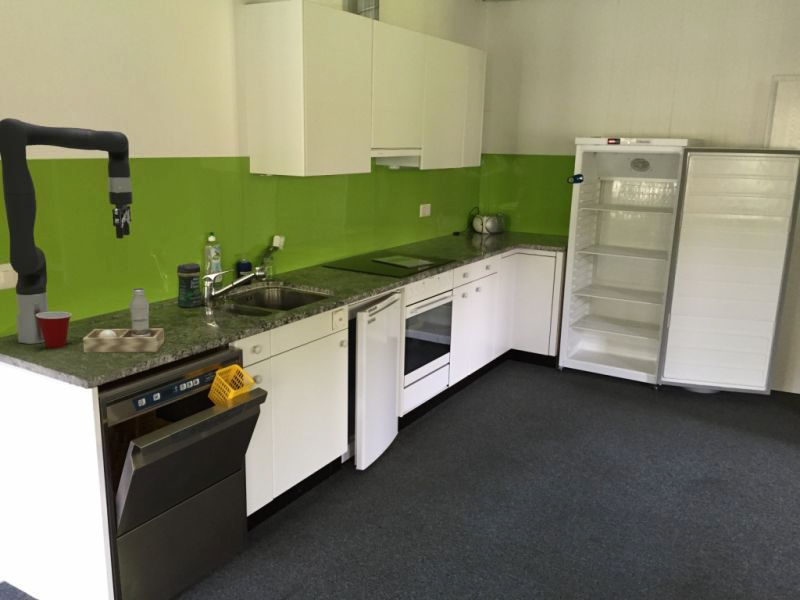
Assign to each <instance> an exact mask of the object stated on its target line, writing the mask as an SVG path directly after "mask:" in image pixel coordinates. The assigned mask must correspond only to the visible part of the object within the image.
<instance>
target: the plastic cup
mask: <svg viewBox="0 0 800 600" xmlns="http://www.w3.org/2000/svg"><path fill="white" fill-rule="evenodd" d="M72 315H73V313H71V312H67V311H48V312H43V313H38V314H36V317H37V318H38V321H39V324H40V327H41V331H42V334H43V338H44V340H45V342H44V344H45V347H46V348H49V349H58V348H62V347H65V346H66V345H67V341H68V340H67V339H68V331H69V323H70V319H71V317H72Z"/></svg>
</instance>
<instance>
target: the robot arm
mask: <svg viewBox="0 0 800 600" xmlns="http://www.w3.org/2000/svg"><path fill="white" fill-rule="evenodd" d="M27 146H28V147H29V146H30V147H31V146H50V147H58V148H64V149H71V150H82V151H99V152H107V154H108V156H107V157H108V162H107V173H108V176H107V177H108V179H107V180H108V183H107V186H108V187H107V189H108V201H109V204H110V205H115V207H114V208H112V210H111V211H112V225H113V227H114V228H115V235H116V239H121V240H122V239H123V238H124V236H130V235H131V233H130V232H131V231H130V230H131V229H130V228H131V227H130V225H131V223H132V215H131V213H132V211H131V206H130V205H133V189H132V179H131V169H130V162H129V160H130V159H129V158H130V157H129V156H130V147H129V146H130V145H129V139H128V137H127V136H126V134H124V133H123V132H121V131H112V130H111V131H110V130H94V129H91V128H80V127H67V126H65V127H64V126H63V127H62V126H59V127H58V126H44V125H39V124H34V123H29V122H25V121H22V120H20V119H17V118H11V117H10V118H9V117H7V118H3V119H1V120H0V160H1V174H2V175H1V177H2V189H3V200H4V206H5V213H6V220H7V228H8V233H9V263H10V267H11V268H12V270H13V271H14V272H15V273H17V281H16V284H15V295H16V303H17V312H18V315H16V317H15V318H16V328H17V339H18V343H20V344H21V343H22V344H26V345H27V344H30V345H33V344H40V343H42V344H43V343H45V340H44V338H43V334H42V331H41V327H40V324H39V321H38V318H37V317H36V314H38V313H43V312H49V305H48V292H47V283H48V273H47V271H48V269H47V258H46V255H45V253H44V251H43V250H42V249H41V248H39V247H38V246H36V243H35V233H34V231H35V224H36V217H37V198H36V190H35V189H36V188H35V184H34V181H33V178H32V175H31V172H30V169H29V167H28V160H27Z"/></svg>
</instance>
